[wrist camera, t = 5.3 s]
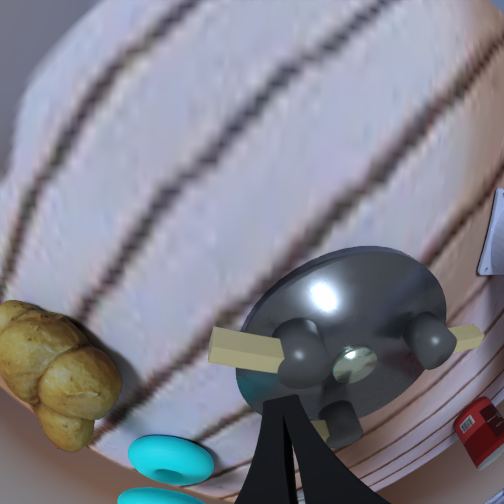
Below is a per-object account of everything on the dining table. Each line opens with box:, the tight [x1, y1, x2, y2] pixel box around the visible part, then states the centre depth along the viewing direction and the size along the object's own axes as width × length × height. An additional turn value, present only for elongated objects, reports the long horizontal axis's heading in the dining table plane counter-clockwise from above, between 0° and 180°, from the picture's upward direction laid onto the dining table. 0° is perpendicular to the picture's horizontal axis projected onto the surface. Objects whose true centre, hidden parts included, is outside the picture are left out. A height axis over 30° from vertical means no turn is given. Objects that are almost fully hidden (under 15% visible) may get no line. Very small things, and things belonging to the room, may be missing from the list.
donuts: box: [118, 435, 214, 504], centre depth 22 cm, size 10×10×10 cm
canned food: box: [454, 397, 504, 470], centre depth 26 cm, size 8×8×11 cm
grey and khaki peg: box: [208, 318, 332, 389], centre depth 16 cm, size 7×3×3 cm, turn 74°
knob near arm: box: [404, 311, 484, 370], centre depth 18 cm, size 7×3×3 cm, turn 86°
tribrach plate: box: [236, 246, 446, 421], centre depth 20 cm, size 18×18×2 cm
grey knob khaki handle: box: [292, 400, 363, 448], centre depth 20 cm, size 7×3×3 cm, turn 86°
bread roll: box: [0, 300, 122, 452], centre depth 16 cm, size 13×10×8 cm
